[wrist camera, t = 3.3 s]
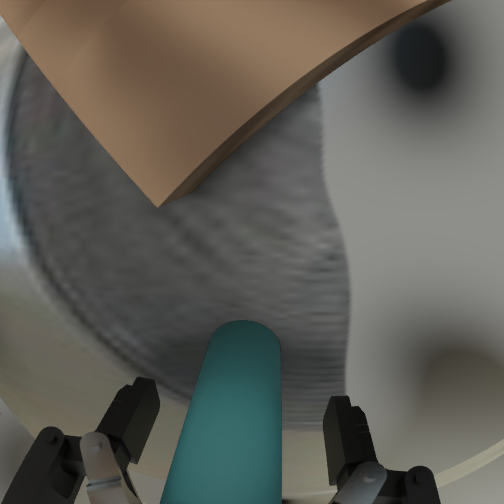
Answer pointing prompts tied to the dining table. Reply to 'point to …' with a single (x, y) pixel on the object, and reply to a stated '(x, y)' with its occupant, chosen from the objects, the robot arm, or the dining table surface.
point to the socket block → (192, 70)
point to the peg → (232, 423)
